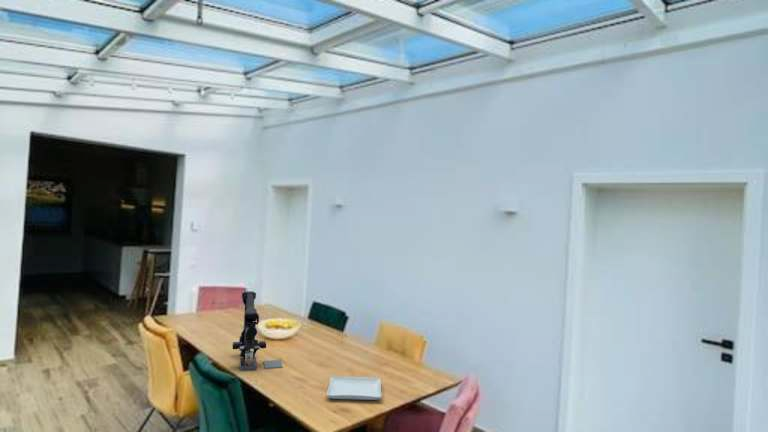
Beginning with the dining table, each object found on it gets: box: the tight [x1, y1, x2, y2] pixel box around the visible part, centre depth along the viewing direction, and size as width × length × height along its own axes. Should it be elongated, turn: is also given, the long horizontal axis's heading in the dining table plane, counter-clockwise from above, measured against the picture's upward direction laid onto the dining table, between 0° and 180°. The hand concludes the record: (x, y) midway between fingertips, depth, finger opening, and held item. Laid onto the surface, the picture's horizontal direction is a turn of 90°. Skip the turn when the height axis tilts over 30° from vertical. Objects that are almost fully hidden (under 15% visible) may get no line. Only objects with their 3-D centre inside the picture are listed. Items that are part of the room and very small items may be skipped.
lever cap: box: [245, 350, 253, 362], centre depth 268 cm, size 6×4×6 cm, turn 18°
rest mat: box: [263, 359, 284, 370], centre depth 273 cm, size 13×10×1 cm
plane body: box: [239, 356, 258, 372], centre depth 268 cm, size 16×9×6 cm, turn 18°
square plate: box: [326, 376, 383, 401], centre depth 237 cm, size 27×27×4 cm
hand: (248, 359), depth 268 cm, fingers closed on lever cap, 4 cm apart
